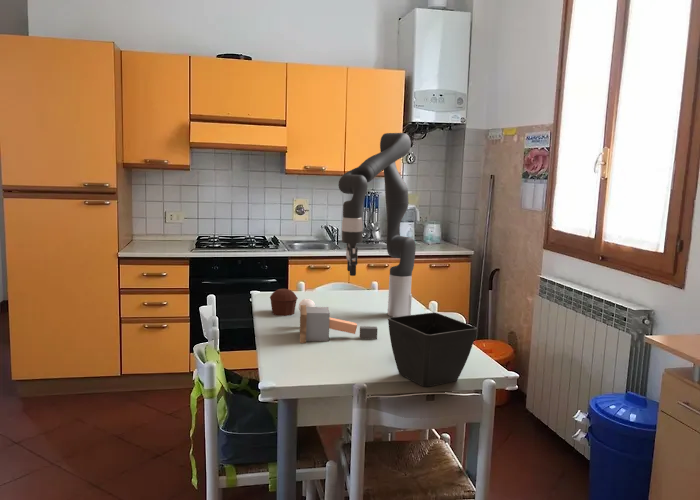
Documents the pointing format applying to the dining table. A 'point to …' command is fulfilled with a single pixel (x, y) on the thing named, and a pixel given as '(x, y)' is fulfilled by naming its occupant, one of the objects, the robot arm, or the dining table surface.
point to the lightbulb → (307, 303)
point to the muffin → (283, 302)
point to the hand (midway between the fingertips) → (351, 273)
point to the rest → (368, 332)
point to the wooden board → (303, 323)
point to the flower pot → (430, 347)
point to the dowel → (342, 325)
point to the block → (317, 324)
